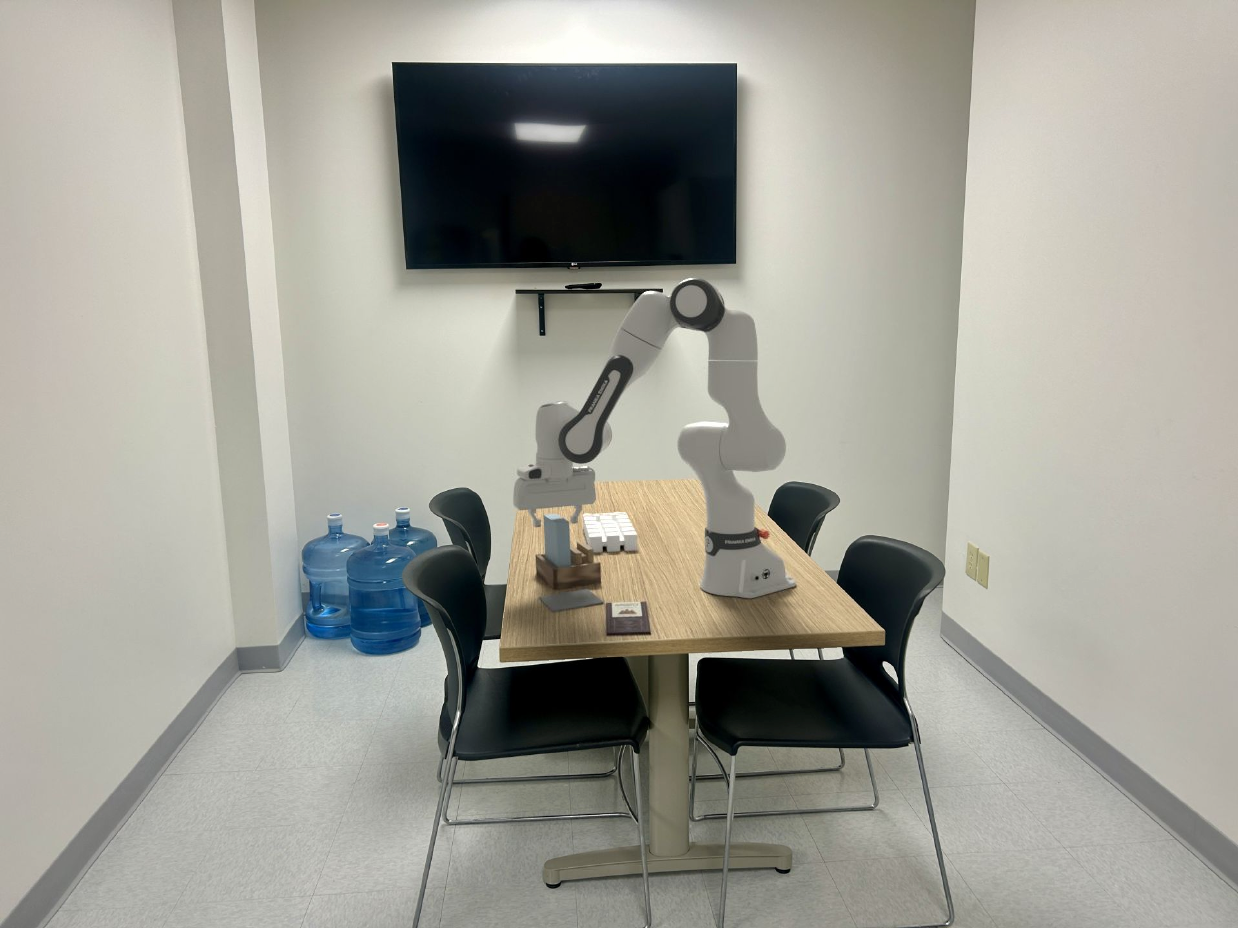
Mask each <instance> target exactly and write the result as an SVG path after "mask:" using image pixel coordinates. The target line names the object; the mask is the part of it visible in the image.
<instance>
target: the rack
mask: <svg viewBox="0 0 1238 928" xmlns="http://www.w3.org/2000/svg"><path fill="white" fill-rule="evenodd" d="M601 564H602V563H601V562H600V561H597V562H595V561H594V563H588V564H581V565H575V566H568V567H561V568H555V567H554V566H553V565H552V564H551V563H549V562H548V561H547V560H546V559H545V552H544V553H538V554H535V571H536V575H537V576H538V577H539V578H540V579H541V580H542V581H544V582H545V584H547V585H548V586H549V587H550V588H552V589H553V591H555V590H563V589H568V588H569V589H570V588H575V587H583V586H589V585H594V584H601V583H602V565H601Z"/></svg>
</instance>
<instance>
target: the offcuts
mask: <svg viewBox="0 0 1238 928" xmlns="http://www.w3.org/2000/svg"><path fill="white" fill-rule="evenodd" d="M594 554H595V552H593V548H591V547H590V546H588V543H586V542H585V541H582V540H581V541H576V546H575V545H571V544H570V557H571V566H575V565H581V564H588V563H594V562H595V557H594Z"/></svg>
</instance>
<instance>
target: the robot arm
mask: <svg viewBox="0 0 1238 928" xmlns="http://www.w3.org/2000/svg"><path fill="white" fill-rule="evenodd" d="M678 328H681V329H688V330H691V331H698V332H703V333H704V334H705V336H706V337H707V341H708V361H707V363H708V366H707V367H708V369H707V392H708V396H709V397H710V399H711V400H713V402H715V403H716V404H717V405H719V406H721V407H722V408H723V409H724V410H725V412H726V413H727V416H728V421H719V420H718V421H717V420H715V421H714V420H701V421H695V422H691V423H690V422H689V423H688V424H686V425H685V426H684V427H683V428H682V429H681V431H680V432H679V434H678V438H677V451H678V454H679V456H680V458H681V459H682V461H683V462H684V463H685V464H687V465H688V466H689V467H690V468H691V470H692V471H693V472H694V473H695V475H696V477H697V478H698V481H699V482H700V485H701V487H702V491H703V494H704V498H705V499H704V500H705V511H706V512H705V513H706V527H705V528H704V551H705V560H704V567H703V572H702V577H701V581H700V584H699V587H700V588H701V590H702V591H704V592H707V593H710V594H713V595H717V596H725V597H737V598H738V597H739V598H743V599H754V598H757V597H762V596H766V595H768V594H772V593H776V592H780V591H784V590H787V589H789V588H793V587H796V580H795V578H793V577H792V576H791V575H789V574H788V573H786V567H785V563H784V560H783V558H782V557H781V556H780V555H779V554H778V553H777V552H775V551H773V550H772V549H771V548H769V547H768V546H766V545H765V544H764V543H762V540H761V538H762V539H763V540H768V539H769V537H770V531H768V530H766V529H759V528H758V527H756V526H755V505H756V504H755V502H756V501H755V498H754V495H753V493H752V491H751V490H749V488H747V487H746V486H744V485H743V484H741V483H740V482H739V481H738V479H737V477H736V476H735V473H734V471H738V472H748V473H749V472H750V473H758V472H759V473H760V472H767V471H774V470H776V469H777V468H778V467H779V466H781V464H782V463H783V460H784V459H785V457H786V451H787V443H786V440H785V437H784V435H783V433H782V431H781V430H780V429H779V428H778V427H776V426H775V425H774V424H773V423H772V422H771V420H769V418H768V416H767V415H766V414H765V411H764V410H763V407H762V404H761V402H760V398H759V389H758V388H759V387H758V361H759V359H758V356H759V352H758V337H757V330H756V323H755V320H754V318H753V317H752V316H751V315H750V314H749V313H746V312H744V311H741V310H732V309H728V308H726V306H725V300H724V298H723V295H721V293H720V292H719V289H717V287H716V286H715V285H714V284H713V283H711V282H709V281H707V280H705V279H703V278H699V277H691V278H686V279H684V280H682V281H680V282H679V283H678V284H677V285H676V286H675V287H674V288H673V290H672V292H671V294H670V295H667V294H665V293H663V292H660V291H656V290H649V291H647V290H646V291H645V292H643V293H642V294H640V296H639V297H637V299H636V300H635V302H634V303H633V304H632V305H631V307H630V308H629V310H628V312H627V313H626V315H625V316H624V319H623V320H622V321H621V323H620V325H619V327H618V330H617V332H616V333H615V336H614V338H613V340H612V342H611V345H610V349H609V351H608V354H607V357H606V359H605V362H604V365H603V368H602V370H601V372H600V375H599V377H598V379H597V381H596V382H595V385H594V386H593V388H592V390H591V392H590V393H589V395H588V397H587V399H586V401H585V403H584V405H583V406H582V408H581V409H579V408H577V407H576V406H573V405H572V403H570V402H569V401H566V400H559V401H553V402H550V403H544V404H543V405H541V406H539V408H538V409H537V411H536V416H535V441H536V444H537V447H536V448H537V449H536V450H537V451H536V453H535V461H532V462H530V463H528V464H526V465H522V466H520V467H518V468H517V470H516V475H517V476H518V478H517V479H516V480H515V483H514V487H513V496H512V500H513V506H514V508H515V509H517V510H518V511H528V514H529V515H530V517H531V519H532V527H534V528H540V527H542V520H541V518H537V517H536V515H535V514H537V510H541V509H551V508H562V507H564V508H565V507H573V508H574V509H575V511H574V513H573V515H569V519H570V520H569V524H572V525H574V524H578V523H579V516H580V515H581V512H582V511H583V506H584V505H585V506H586V505H594V504H595V502H596V500H597V493H596V485H595V481H596V472H595V470H594V468H591V467H590V466H575V467H574V464H579V465H583V464H584V465H585V464H588V463H591V462H592V461H594V460H595V459H596V458H597V457H598V456H599V455H600V454H601V453H603V452H604V451H605V450H607V448H608V447H609V445H610V443H611V442H612V438H613V432H612V431H613V430H612V429H611V425H610V424H609V422H608V420H609V418H610V416H611V415H612V412H613V411H614V409H615V407H616V405H617V404H618V402H619V400H620V399H621V397H622V395H623V394H624V393H625V391H626V390H627V389H628V388H629V387H630V386H631V385H632V384H633V383H634V382H636V381H637V380H638V379H640V378H641V377H642V376H644V375H645V374H646V373H647V372H648V371H649V369H650V368H651V367H652V366H653V365H654V363H655V362H656V360H657V359H658V357H659V355H660V353H661V351H662V350H663V347H664V346H665V344H666V342H667V340H668V338H669V337H670V335H671V334H672V333H673V331H675V330H676V329H678Z"/></svg>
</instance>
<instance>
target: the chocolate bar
mask: <svg viewBox="0 0 1238 928" xmlns="http://www.w3.org/2000/svg"><path fill="white" fill-rule="evenodd" d="M649 617H650V616H649V611H648V604H647V601H621V602H620V601H619V602H606V603H605V622H606V623H605V625H606V626H605V629H606V631H605V635H606V636H607V637H608V636H609V637H611V636H636V635H639V636H641V635H643V636H644V635H651V634H652V630H651V624H650V618H649Z"/></svg>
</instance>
